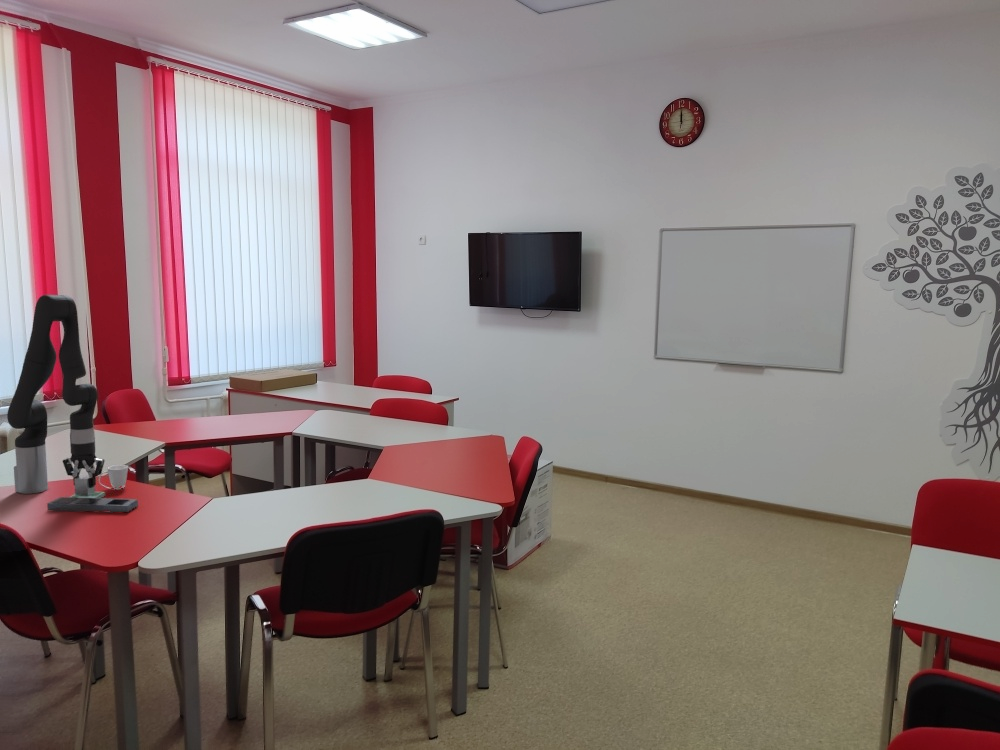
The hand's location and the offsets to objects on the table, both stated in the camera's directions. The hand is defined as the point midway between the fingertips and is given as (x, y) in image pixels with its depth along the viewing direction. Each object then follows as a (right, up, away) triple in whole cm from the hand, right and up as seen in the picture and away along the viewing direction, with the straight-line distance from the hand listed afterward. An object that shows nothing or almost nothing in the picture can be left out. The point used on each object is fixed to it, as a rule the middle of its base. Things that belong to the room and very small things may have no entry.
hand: (84, 486), depth 248 cm
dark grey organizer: (+7, -6, -8) cm, 12 cm away
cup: (+3, -3, +14) cm, 15 cm away
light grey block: (0, -3, 0) cm, 3 cm away
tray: (0, -5, +1) cm, 5 cm away
